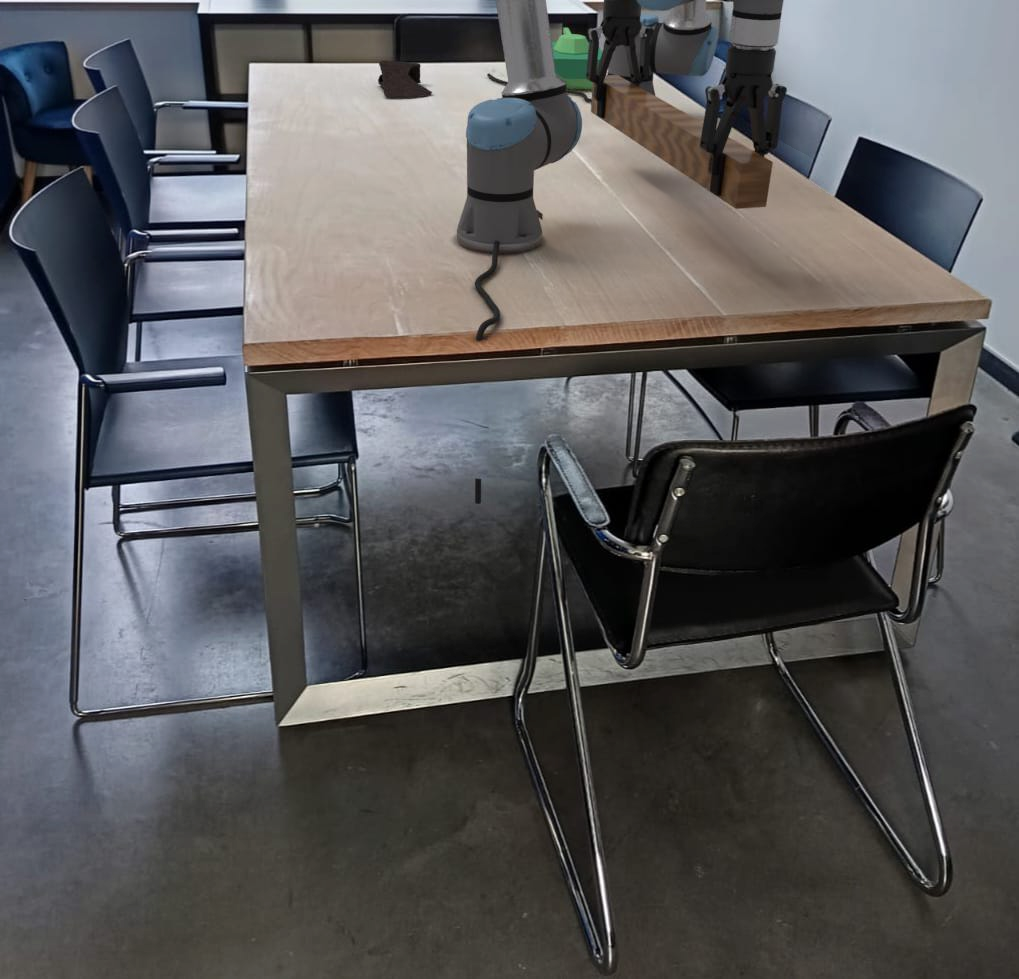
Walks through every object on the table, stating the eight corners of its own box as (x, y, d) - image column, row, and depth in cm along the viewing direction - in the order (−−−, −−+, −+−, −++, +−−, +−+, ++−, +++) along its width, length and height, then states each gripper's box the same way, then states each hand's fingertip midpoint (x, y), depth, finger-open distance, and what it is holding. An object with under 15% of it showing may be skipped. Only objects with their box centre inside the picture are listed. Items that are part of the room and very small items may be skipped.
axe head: (443, 87, 294) (392, 77, 287) (436, 115, 299) (385, 106, 292) (421, 62, 307) (371, 52, 300) (414, 89, 311) (365, 80, 304)
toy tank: (594, 24, 327) (608, 45, 298) (591, 67, 334) (605, 92, 304) (535, 23, 327) (543, 44, 297) (533, 66, 333) (541, 91, 303)
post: (766, 206, 179) (773, 161, 175) (735, 209, 178) (741, 163, 174) (615, 110, 234) (617, 74, 230) (590, 111, 233) (593, 75, 229)
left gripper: (792, 40, 177) (770, 182, 189) (688, 42, 172) (672, 189, 184) (817, 48, 171) (792, 195, 183) (709, 51, 166) (691, 202, 178)
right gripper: (585, -2, 210) (579, 122, 222) (674, -4, 215) (663, 118, 227) (572, -7, 216) (566, 114, 228) (658, -9, 221) (648, 109, 233)
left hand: (732, 192), depth 184 cm, fingers closed on post, 6 cm apart
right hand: (614, 115), depth 228 cm, fingers closed on post, 6 cm apart
